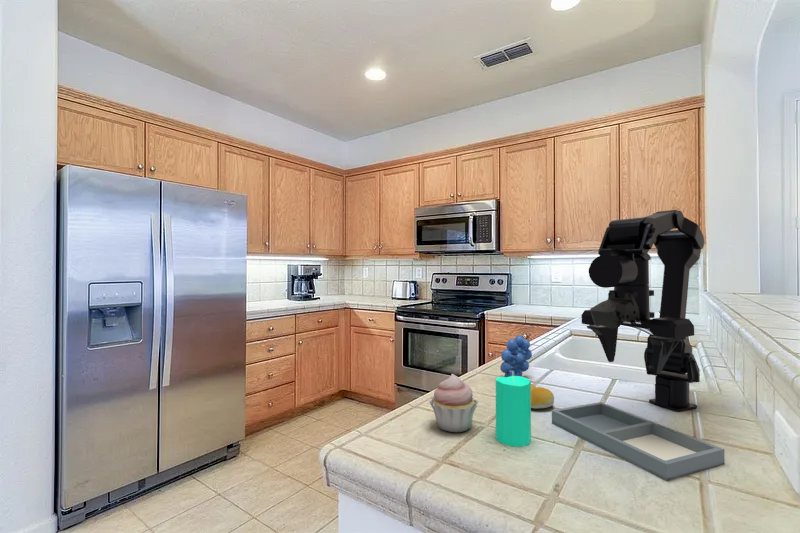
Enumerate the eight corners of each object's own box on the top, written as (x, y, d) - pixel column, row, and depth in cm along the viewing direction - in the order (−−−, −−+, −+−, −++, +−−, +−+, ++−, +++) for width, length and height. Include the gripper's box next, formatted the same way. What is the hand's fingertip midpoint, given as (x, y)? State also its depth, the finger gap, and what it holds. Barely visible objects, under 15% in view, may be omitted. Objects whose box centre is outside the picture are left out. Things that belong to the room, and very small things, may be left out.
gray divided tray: (600, 414, 80) (600, 402, 80) (724, 465, 59) (724, 449, 59) (551, 423, 75) (551, 410, 75) (667, 482, 54) (667, 464, 54)
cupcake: (457, 413, 80) (457, 365, 80) (488, 429, 72) (488, 376, 72) (419, 422, 76) (419, 371, 76) (448, 440, 67) (448, 383, 68)
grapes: (518, 372, 112) (518, 331, 112) (537, 378, 106) (537, 334, 106) (489, 379, 105) (489, 335, 105) (508, 385, 100) (508, 339, 100)
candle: (531, 434, 70) (530, 368, 70) (530, 448, 64) (530, 377, 64) (497, 429, 72) (497, 365, 72) (494, 443, 66) (493, 374, 66)
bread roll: (542, 412, 79) (540, 392, 79) (505, 402, 86) (505, 384, 86) (562, 403, 84) (561, 384, 84) (527, 394, 91) (526, 377, 91)
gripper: (560, 284, 78) (562, 361, 78) (651, 289, 61) (653, 387, 61) (600, 282, 82) (601, 355, 82) (695, 286, 65) (697, 378, 65)
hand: (632, 367), depth 73 cm, fingers open, 9 cm apart
